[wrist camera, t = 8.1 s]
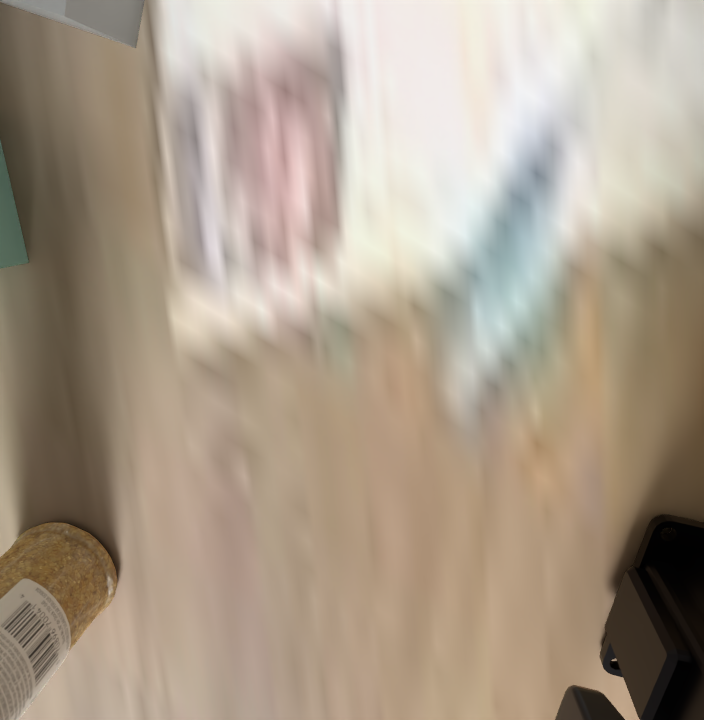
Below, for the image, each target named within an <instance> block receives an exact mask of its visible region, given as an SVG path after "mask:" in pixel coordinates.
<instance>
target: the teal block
mask: <svg viewBox="0 0 704 720" xmlns="http://www.w3.org/2000/svg"><path fill="white" fill-rule="evenodd" d="M25 263H29V261H28V256H27V252H26V248H25V243H24V239H23V235H22V231H21V226H20V222H19V218H18V213H17V209H16V205H15V200H14V196H13V192H12V187H11V183H10V179H9V175H8V170H7V166H6V162H5V157H4V153H3V149H2V144H1V140H0V268H5V267H10V266H15V265H20V264H25Z"/></svg>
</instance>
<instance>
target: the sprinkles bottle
mask: <svg viewBox="0 0 704 720" xmlns="http://www.w3.org/2000/svg"><path fill="white" fill-rule="evenodd" d="M116 587H117V575H116V570H115V566H114V564H113V562H112V560H111V557H110V556H109V554H108V552H107V551H106V550H105V548H104V547H103V546H102V545H101V543H100V542H99V541H98V540H97V539H95V538H94V537H93V536H92V535H91V534H89V533H88V532H86V531H84V530H81V529H79V528H77V527H75V526H72V525H70V524H67V523H54V522H51V523H44V524H41V525H39V526H35V527H33V528H30V529H28V530H27V531H25V532H24V533H23V534H21V535H20V536H19V537H18V539H17V540H16V541H15V542H14V544H13V545H12V547H11V548H10V549H9V550H8V551H7V552H6V553H5V554H3V555H2V556H1V557H0V720H19V719H20V718H21V717H22V715H23V714H24V713H25V712H26V710H27V709H28V708H29V706H30V705H31V704H32V702H33V701H34V700H35V699H36V697H37V696H38V695H39V693H40V692H41V691H42V689H43V688H44V687H45V685H46V684H47V683H48V681H49V680H50V679H51V677H52V676H53V675H54V674H55V672H56V671H57V670H58V668H59V667H60V666H61V664H62V663H63V662H64V660H65V659H66V657H67V655H68V653H69V651H70V649H71V648H72V647H73V646H74V644H75V643H76V642H77V640H78V639H79V638H80V637H81V635H82V634H83V633H84V631H85V630H86V629H87V628H88V626H89V625H90V624H91V623H92V621H93V620H94V619H95V618H96V617H97V616H98V615H99V614H100V613H101V612H103V611H104V610H105V608H106V607H108V606H109V604H110V603H111V601H112V599H113V597H114V595H115V590H116Z"/></svg>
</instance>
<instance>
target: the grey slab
mask: <svg viewBox="0 0 704 720" xmlns="http://www.w3.org/2000/svg"><path fill="white" fill-rule="evenodd" d="M0 2H1V3H4V4H7V5H10V6H13V7H15V8H18V9H21V10H24V11H27V12H30V13H33V14H36V15H39V16H42V17H45V18H48V19H51V20H54V21H57V22H60V23H63V24H66V25H69V26H72V27H75V28H78V29H81V30H84V31H87V32H90V33H92V34H95V35H98V36H101V37H104V38H107V39H110V40H113V41H116V42H119V43H122V44H125V45H128V46H131V47H134V48H136V44H137V39H138V33H139V28H140V22H141V17H142V11H143V6H144V0H0Z"/></svg>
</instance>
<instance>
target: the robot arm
mask: <svg viewBox="0 0 704 720" xmlns="http://www.w3.org/2000/svg"><path fill="white" fill-rule="evenodd" d="M665 528H672V530H671V531H670V532H669V533H667V534H660V532H661V531H662V530H663V529H665ZM605 630H606V632H607V636H606V638H605V641H604V644H603V646H602V649H601V651H600V659H601V662H602V665H603V667H604V669H605V670H606V671H607V672H608V673H610V674H612V675H616V676H620V677H623V678H624V680H625V683H626V685H627V688H628V691H629V693H630V696H631V699H632V701H633V704H634V707H635V709H636V712H637V715H638V717H639V719H640V720H704V523H703V522H699V521H694V520H690V519H685V518H681V517H676V516H672V515H660V516H657V517H655V518H654V519H652V521H651V522H650V524H649V526H648V528H647V531H646V534H645V536H644V539H643V541H642V544H641V547H640V549H639V552H638V555H637V557H636V560H635V562H634V565H633V567H631V568H629V569H628V570H627V571H626V572H625V574H624V576H623V579H622V582H621V584H620V587H619V590H618V592H617V595H616V598H615V600H614V603H613V606H612V608H611V611H610V613H609V616H608V619H607V621H606V624H605ZM615 658H616V659H617V661H611V660H612V659H615ZM555 720H625V719H624V718H623V717H622V716H621V714H620V713H619V712H618V711H617V710H616V708H615V707H614V706H613V705H612V704H611V702H610V701H609V700H608V699H607V698H606V696H605V695H604V694H602V693H601V692H599V691H597V690H593V689H589V688H585V687H581V686H577V685H572V686H570V687H568V689H567V690H566V692H565V694H564V697H563V700H562V702H561V705H560V708H559V710H558V713H557V716H556V719H555Z"/></svg>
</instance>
